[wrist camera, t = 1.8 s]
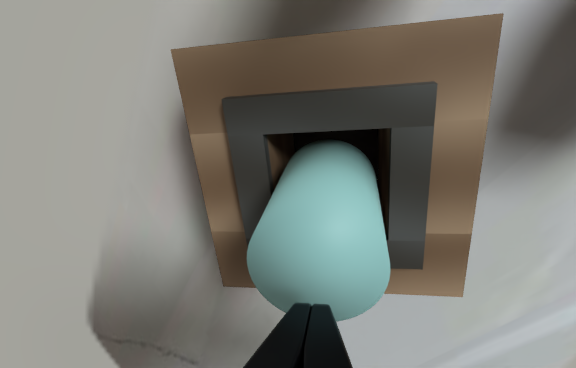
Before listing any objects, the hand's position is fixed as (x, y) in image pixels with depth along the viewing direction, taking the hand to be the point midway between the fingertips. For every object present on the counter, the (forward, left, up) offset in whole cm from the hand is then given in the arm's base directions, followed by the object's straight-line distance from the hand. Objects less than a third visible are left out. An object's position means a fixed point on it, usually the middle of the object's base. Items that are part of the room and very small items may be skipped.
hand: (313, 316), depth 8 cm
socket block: (0, 0, -13) cm, 13 cm away
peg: (0, 0, -7) cm, 7 cm away
